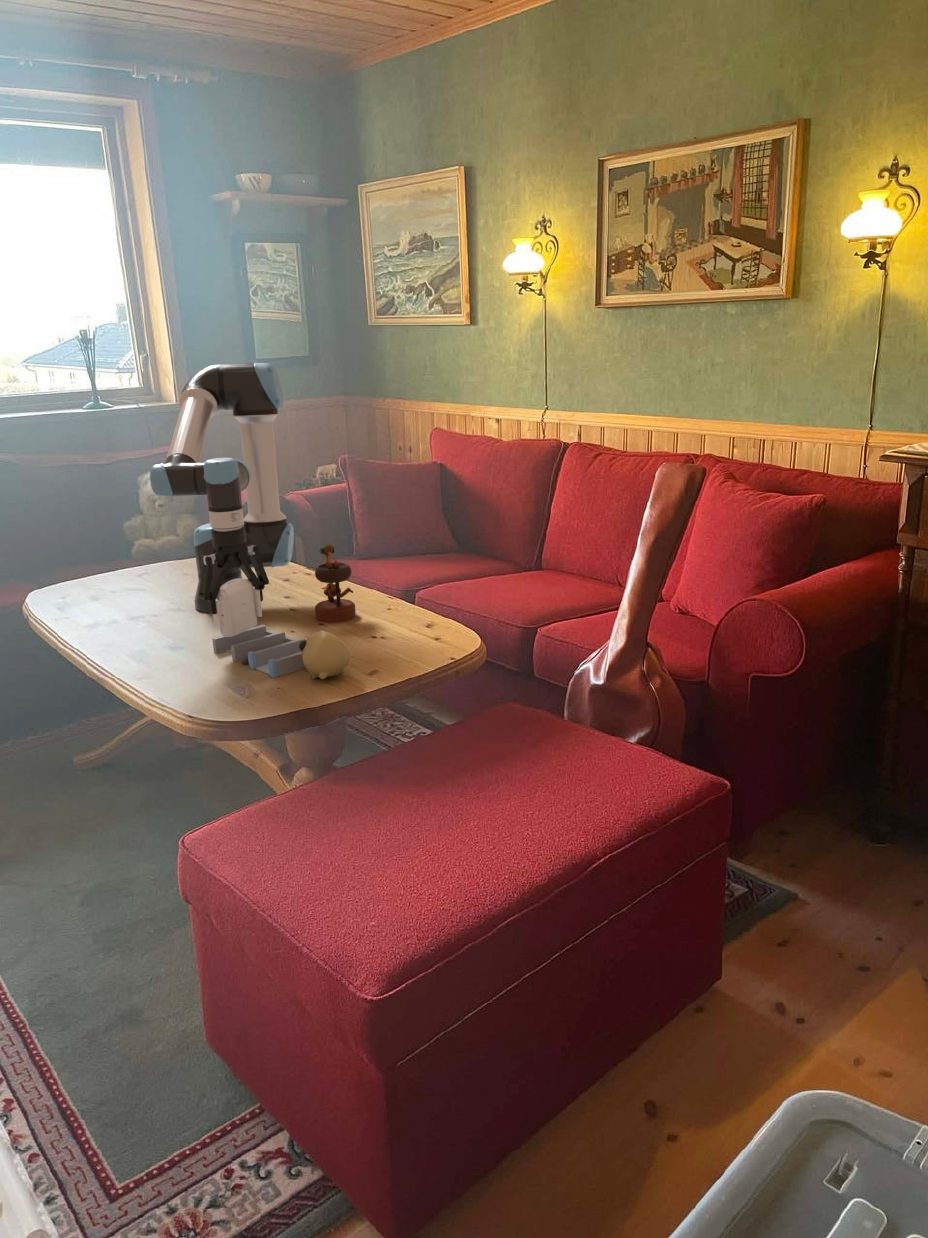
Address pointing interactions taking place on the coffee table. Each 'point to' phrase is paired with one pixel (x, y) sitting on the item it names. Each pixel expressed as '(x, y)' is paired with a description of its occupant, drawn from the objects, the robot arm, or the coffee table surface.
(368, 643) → the coffee table surface
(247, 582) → the photo printer
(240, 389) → the robot arm
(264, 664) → the grey shelf rack
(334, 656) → the tan frog figure
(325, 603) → the music box
